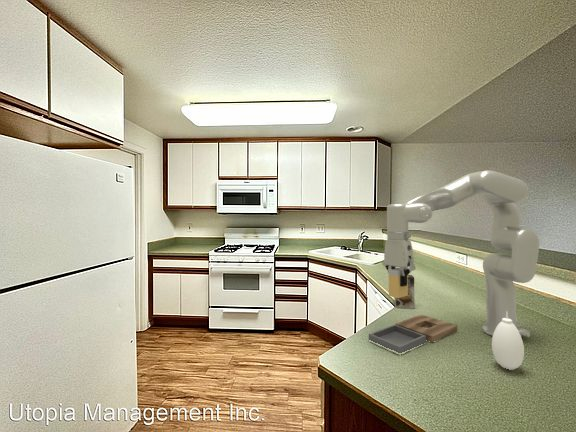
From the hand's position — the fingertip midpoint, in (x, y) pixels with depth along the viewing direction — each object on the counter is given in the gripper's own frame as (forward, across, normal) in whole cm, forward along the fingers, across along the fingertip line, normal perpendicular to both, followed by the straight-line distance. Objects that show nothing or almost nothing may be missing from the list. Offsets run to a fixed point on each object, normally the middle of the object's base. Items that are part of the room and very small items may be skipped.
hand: (398, 284), depth 110 cm
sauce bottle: (+22, -31, -11) cm, 40 cm away
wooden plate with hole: (+22, 0, -18) cm, 28 cm away
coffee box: (+22, +24, -37) cm, 49 cm away
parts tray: (+22, 0, +1) cm, 22 cm away
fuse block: (+4, 0, 0) cm, 4 cm away
